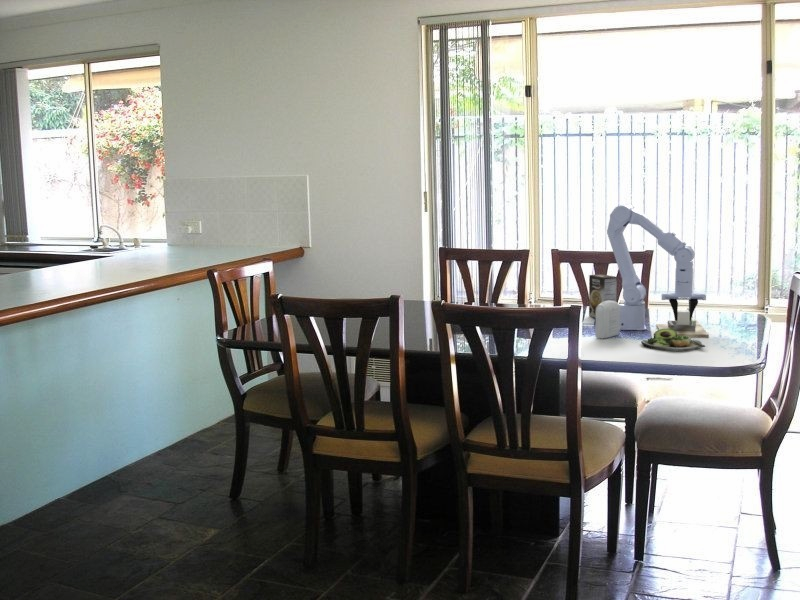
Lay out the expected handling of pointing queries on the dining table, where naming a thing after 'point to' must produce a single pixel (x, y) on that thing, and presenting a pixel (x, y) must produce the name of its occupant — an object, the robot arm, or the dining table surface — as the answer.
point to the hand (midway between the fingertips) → (682, 320)
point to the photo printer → (607, 319)
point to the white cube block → (683, 317)
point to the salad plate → (671, 341)
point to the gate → (693, 320)
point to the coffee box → (601, 291)
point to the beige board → (685, 329)
